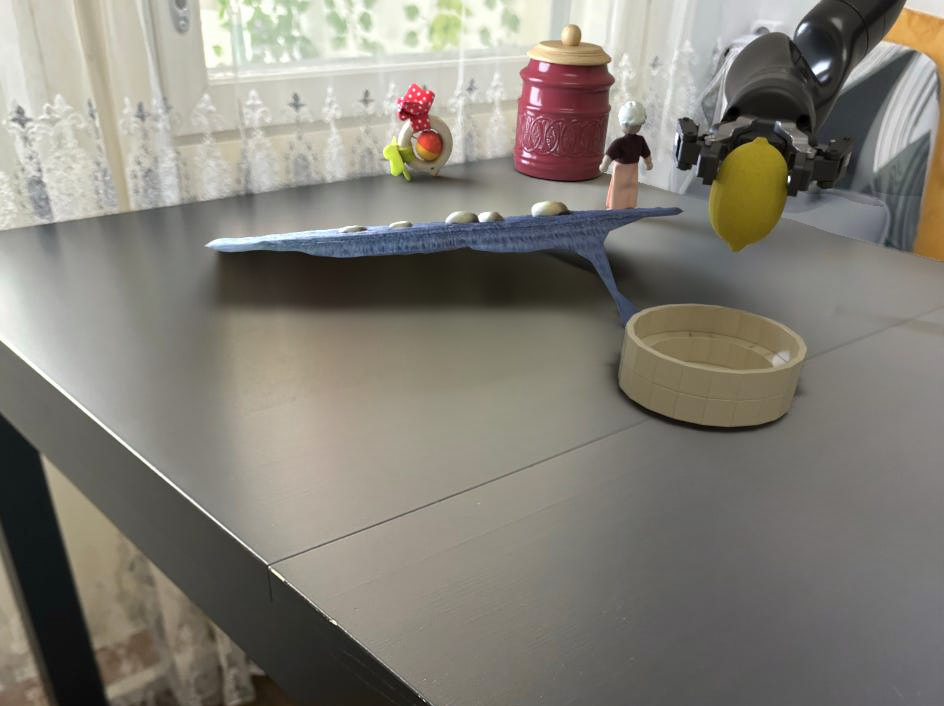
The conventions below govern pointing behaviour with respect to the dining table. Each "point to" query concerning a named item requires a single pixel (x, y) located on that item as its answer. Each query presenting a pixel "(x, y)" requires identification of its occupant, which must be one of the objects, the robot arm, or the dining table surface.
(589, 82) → the kitchen canister
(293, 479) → the dining table surface
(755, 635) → the dining table surface
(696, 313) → the bowl
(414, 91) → the bird rattle
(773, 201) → the lemon
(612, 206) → the grandmother figurine
